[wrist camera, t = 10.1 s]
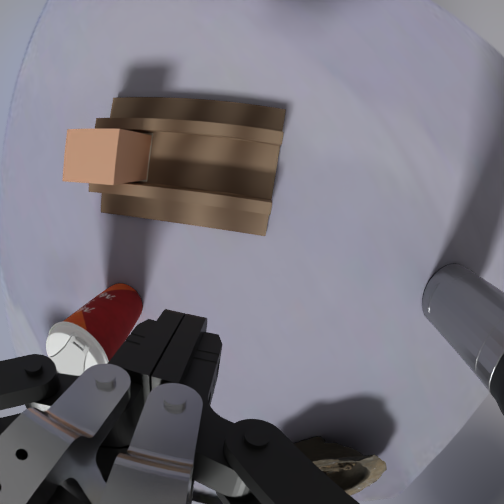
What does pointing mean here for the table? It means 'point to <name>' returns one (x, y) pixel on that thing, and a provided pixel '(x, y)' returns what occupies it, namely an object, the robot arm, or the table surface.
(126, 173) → the block
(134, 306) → the paper cup
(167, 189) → the chute
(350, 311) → the table surface
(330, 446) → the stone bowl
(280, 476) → the robot arm
